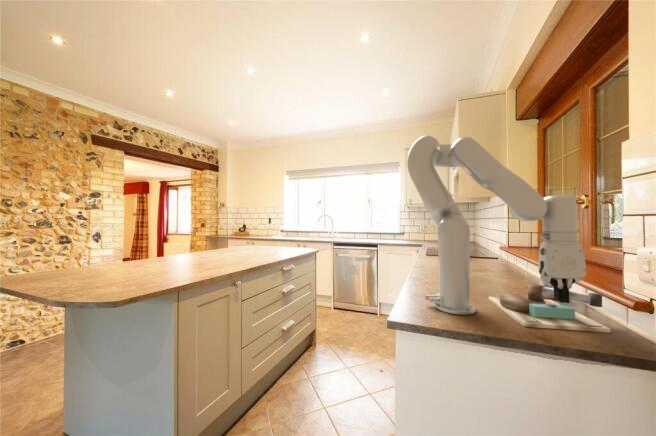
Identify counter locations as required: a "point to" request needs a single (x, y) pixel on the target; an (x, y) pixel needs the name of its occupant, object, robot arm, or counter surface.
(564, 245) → the robot arm
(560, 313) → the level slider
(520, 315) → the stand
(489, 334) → the counter surface
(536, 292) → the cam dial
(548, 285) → the sprinkles bottle
